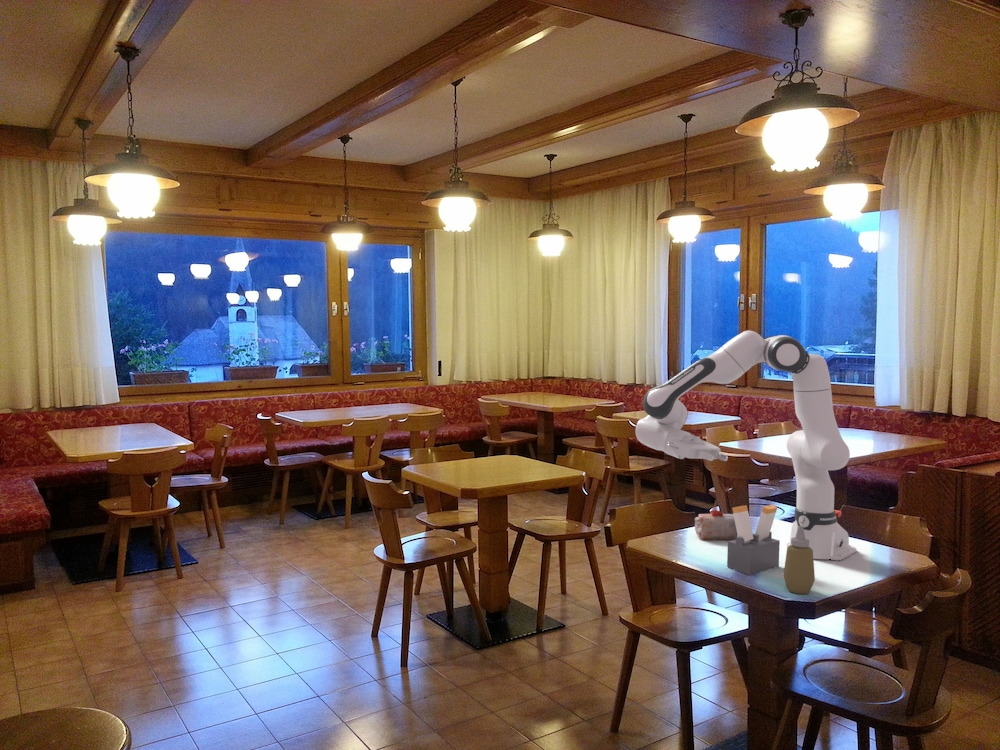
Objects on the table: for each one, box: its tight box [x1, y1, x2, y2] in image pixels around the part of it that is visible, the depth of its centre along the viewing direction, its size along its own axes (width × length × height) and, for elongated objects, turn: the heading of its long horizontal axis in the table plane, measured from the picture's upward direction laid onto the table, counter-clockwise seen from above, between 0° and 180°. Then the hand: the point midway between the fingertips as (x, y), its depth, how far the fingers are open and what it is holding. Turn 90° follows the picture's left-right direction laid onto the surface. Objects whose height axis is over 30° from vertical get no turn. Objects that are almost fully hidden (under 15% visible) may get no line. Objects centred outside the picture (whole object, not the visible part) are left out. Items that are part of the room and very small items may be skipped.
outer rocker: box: [732, 505, 754, 541], centre depth 228 cm, size 5×2×10 cm, turn 125°
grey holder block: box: [726, 531, 781, 576], centre depth 229 cm, size 14×8×10 cm, turn 125°
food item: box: [694, 508, 738, 541], centre depth 260 cm, size 14×8×10 cm, turn 87°
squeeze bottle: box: [782, 526, 816, 595], centre depth 209 cm, size 8×8×18 cm
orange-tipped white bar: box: [754, 504, 778, 539], centre depth 230 cm, size 5×2×10 cm, turn 125°
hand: (719, 458), depth 233 cm, fingers open, 8 cm apart
